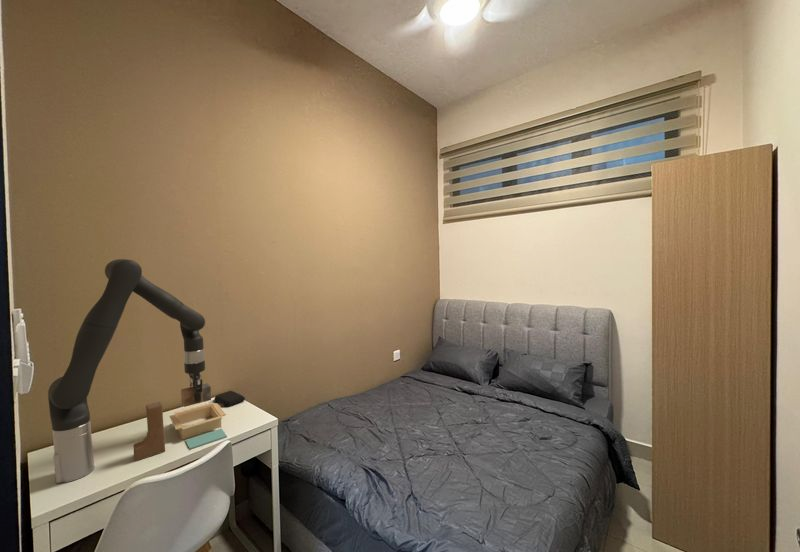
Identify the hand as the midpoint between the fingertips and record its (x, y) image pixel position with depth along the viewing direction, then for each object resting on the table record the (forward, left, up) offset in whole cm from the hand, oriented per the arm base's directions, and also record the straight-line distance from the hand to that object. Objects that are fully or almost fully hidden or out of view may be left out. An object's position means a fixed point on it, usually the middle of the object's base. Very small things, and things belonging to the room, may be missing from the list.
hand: (196, 399), depth 147 cm
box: (0, 0, -1) cm, 1 cm away
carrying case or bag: (+17, +18, -12) cm, 28 cm away
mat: (0, -14, -12) cm, 18 cm away
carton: (0, 0, -12) cm, 12 cm away
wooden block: (-18, -11, -12) cm, 24 cm away
